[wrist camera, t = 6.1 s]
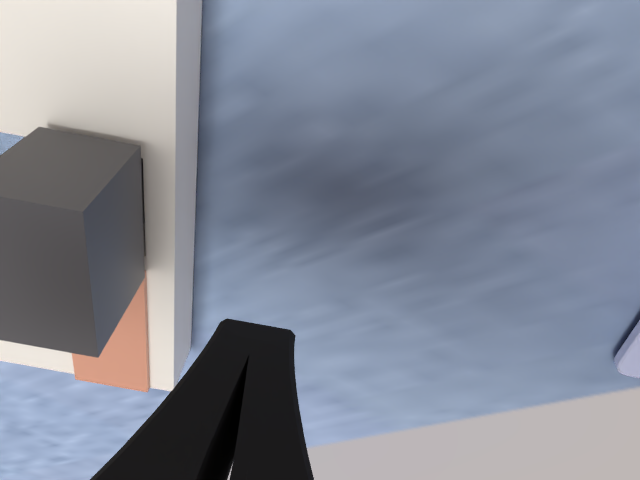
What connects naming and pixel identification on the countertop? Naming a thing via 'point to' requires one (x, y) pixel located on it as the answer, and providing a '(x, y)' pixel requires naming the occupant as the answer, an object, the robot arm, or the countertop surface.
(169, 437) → the robot arm
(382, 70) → the countertop surface
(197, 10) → the switch board
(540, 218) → the countertop surface
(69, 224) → the switch handle
